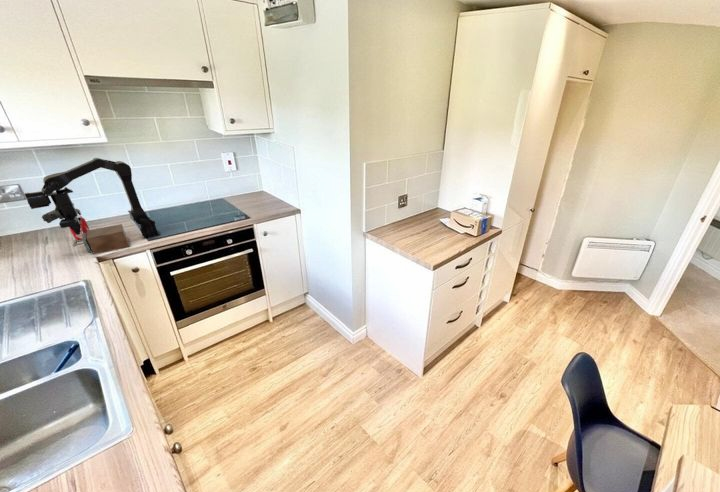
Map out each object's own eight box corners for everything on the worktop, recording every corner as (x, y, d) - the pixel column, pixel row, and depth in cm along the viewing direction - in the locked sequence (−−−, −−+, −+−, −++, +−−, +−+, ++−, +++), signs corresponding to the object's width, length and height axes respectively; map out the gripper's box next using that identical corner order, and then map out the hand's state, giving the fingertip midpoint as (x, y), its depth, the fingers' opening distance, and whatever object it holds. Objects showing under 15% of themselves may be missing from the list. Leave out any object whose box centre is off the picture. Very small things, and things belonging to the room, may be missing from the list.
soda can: (96, 236, 172) (86, 215, 166) (81, 242, 166) (71, 220, 160) (86, 235, 173) (76, 214, 168) (71, 240, 167) (61, 219, 162)
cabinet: (93, 254, 155) (86, 238, 151) (94, 245, 163) (87, 230, 159) (129, 246, 163) (122, 231, 159) (127, 238, 171) (121, 224, 167)
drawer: (76, 255, 151) (69, 242, 148) (77, 247, 158) (71, 235, 155) (121, 246, 161) (116, 234, 158) (120, 239, 168) (115, 227, 165)
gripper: (41, 201, 148) (57, 232, 155) (35, 213, 135) (53, 246, 142) (73, 197, 154) (87, 226, 161) (71, 207, 141) (86, 239, 149)
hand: (78, 234), depth 153 cm, fingers closed
